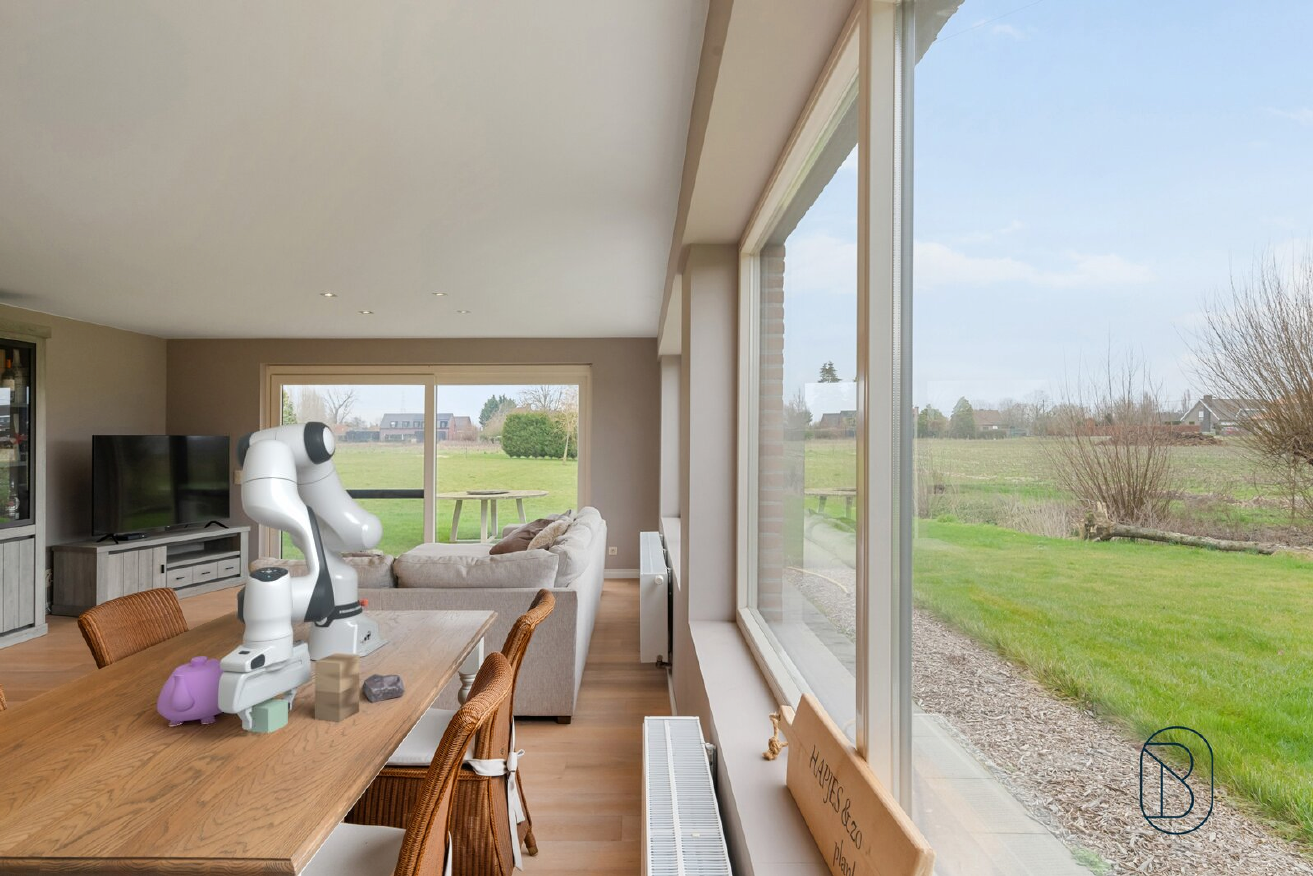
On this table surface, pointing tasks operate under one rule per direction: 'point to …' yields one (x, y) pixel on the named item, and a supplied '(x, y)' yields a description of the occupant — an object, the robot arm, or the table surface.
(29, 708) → the table surface
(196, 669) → the teapot
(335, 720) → the tower bottom
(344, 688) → the tower top
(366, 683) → the rock
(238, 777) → the table surface
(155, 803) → the table surface
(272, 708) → the sage block
